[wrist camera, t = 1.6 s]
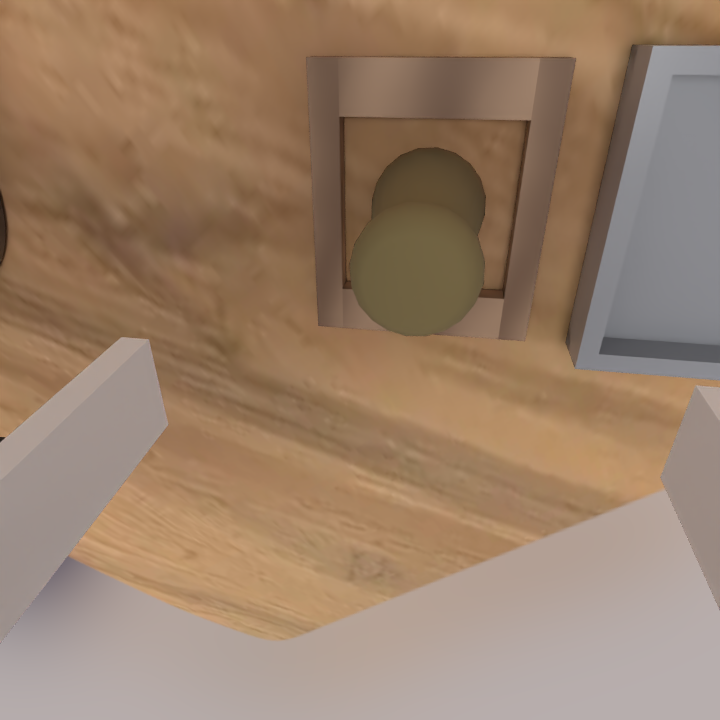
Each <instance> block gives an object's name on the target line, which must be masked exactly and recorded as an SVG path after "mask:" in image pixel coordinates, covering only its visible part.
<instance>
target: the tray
mask: <svg viewBox="0 0 720 720" xmlns="http://www.w3.org/2000/svg"><path fill="white" fill-rule="evenodd" d="M566 344H567V347H568V350H569V353H570V356H571V359H572V362H573V365H574V367H575V369H583V370H596V371H609V372H621V373H634V374H647V375H659V376H672V377H685V378H697V379H710V380H720V45H632V49H631V54H630V58H629V62H628V67H627V71H626V76H625V80H624V85H623V89H622V94H621V98H620V103H619V107H618V111H617V116H616V120H615V125H614V129H613V134H612V138H611V143H610V147H609V151H608V156H607V160H606V165H605V169H604V174H603V178H602V183H601V187H600V191H599V196H598V200H597V205H596V209H595V214H594V218H593V223H592V227H591V231H590V236H589V240H588V245H587V249H586V254H585V258H584V263H583V267H582V271H581V276H580V280H579V285H578V289H577V294H576V298H575V303H574V307H573V312H572V316H571V320H570V325H569V329H568V334H567V338H566Z"/></svg>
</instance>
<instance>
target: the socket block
mask: <svg viewBox="0 0 720 720" xmlns="http://www.w3.org/2000/svg"><path fill="white" fill-rule="evenodd" d="M306 62H307V84H308V106H309V128H310V150H311V172H312V194H313V217H314V239H315V261H316V283H317V305H318V326H325V327H339V328H352V329H366V330H380V331H388V330H386V329H385V328H383V327H382V326H380V325H379V324H377V323H375V322H374V321H372V320H371V319H370V318H369V316H368V315H367V314H366V313H365V312H364V311H363V309H362V308H361V307H360V306H359V304H358V302H357V299H356V297H355V294H354V292H353V290H352V286H351V281H346V235H345V167H344V117H385V118H435V119H486V120H528V122H527V129H526V135H525V142H524V149H523V156H522V163H521V169H520V176H519V183H518V190H517V196H516V203H515V210H514V217H513V224H512V230H511V237H510V244H509V251H508V257H507V264H506V271H505V278H504V285H503V290H489V289H481V291H480V293H479V296H478V298H477V301H476V303H475V304H474V306H473V307H472V308H471V310H470V311H469V312H468V313H467V314H466V315H465V317H464V318H463V319H462V320H461V321H460V322H458V323H457V324H455V325H453V326H452V327H450V328H449V329H447V330H445V331H443V332H439V333H435V334H434V335H448V336H462V337H475V338H489V339H503V340H516V341H525V339H526V334H527V328H528V323H529V317H530V311H531V306H532V300H533V295H534V289H535V284H536V278H537V273H538V267H539V262H540V256H541V250H542V245H543V239H544V234H545V228H546V223H547V217H548V212H549V206H550V201H551V195H552V189H553V184H554V178H555V173H556V167H557V162H558V156H559V151H560V145H561V140H562V134H563V128H564V123H565V117H566V112H567V106H568V101H569V95H570V90H571V84H572V79H573V73H574V67H575V62H576V58H571V57H350V56H311V57H306Z"/></svg>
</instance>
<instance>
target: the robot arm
mask: <svg viewBox="0 0 720 720" xmlns="http://www.w3.org/2000/svg"><path fill="white" fill-rule="evenodd" d="M4 247H5V219H4V213H3V208H2V204H1V199H0V263H1V260H2V257H3V252H4ZM167 426H168V421H167V417H166V412H165V408H164V404H163V399H162V395H161V390H160V386H159V382H158V377H157V373H156V369H155V364H154V360H153V356H152V351H151V347H150V342H149V339H138V338H126V337H121V338H120V339H119V340H117V341H116V342H115V343H114V344H113V345H112V346H111V347H109V348H108V349H107V350H106V351H105V352H104V353H102V354H101V355H100V356H99V357H98V358H97V359H96V360H94V361H93V362H92V363H91V364H90V365H89V366H88V367H86V368H85V369H84V370H83V371H82V372H81V373H79V374H78V375H77V376H76V377H75V378H74V379H73V380H71V381H70V382H69V383H68V384H67V385H66V386H65V387H63V388H62V389H61V390H60V391H59V392H58V393H56V394H55V395H54V396H53V397H52V398H51V399H50V400H48V401H47V402H46V403H45V404H44V405H43V406H42V407H40V408H39V409H38V410H37V411H36V412H35V413H33V414H32V415H31V416H30V417H29V418H28V419H27V420H25V421H24V422H23V423H22V424H21V425H20V426H19V427H17V428H16V429H15V430H14V431H13V432H12V433H10V434H9V435H8V436H7V437H6V438H5V437H0V643H1V642H2V641H3V640H4V638H5V637H6V636H7V634H8V633H9V632H10V630H11V629H12V628H13V626H14V625H15V624H16V623H17V621H18V620H19V619H20V617H21V616H22V615H23V613H24V612H25V611H26V610H27V608H28V607H29V606H30V604H31V603H32V602H33V600H34V599H35V598H36V597H37V595H38V594H39V593H40V591H41V590H42V589H43V587H44V586H45V585H46V583H47V582H48V581H49V580H50V578H51V577H52V576H53V574H54V573H55V572H56V570H57V569H58V568H59V566H60V565H61V564H62V563H63V561H64V560H65V559H66V557H67V556H68V555H69V554H70V552H71V551H72V550H73V548H74V547H75V546H76V544H77V543H78V542H79V540H80V539H81V538H82V537H83V535H84V534H85V533H86V531H87V530H88V529H89V527H90V526H91V525H92V524H93V522H94V521H95V520H96V518H97V517H98V516H99V514H100V513H101V512H102V510H103V509H104V508H105V507H106V505H107V504H108V503H109V501H110V500H111V499H112V497H113V496H114V495H115V494H116V492H117V491H118V490H119V488H120V487H121V486H122V484H123V483H124V482H125V480H126V479H127V478H128V477H129V475H130V474H131V473H132V471H133V470H134V469H135V467H136V466H137V465H138V464H139V462H140V461H141V460H142V458H143V457H144V456H145V454H146V453H147V452H148V451H149V449H150V448H151V447H152V445H153V444H154V443H155V441H156V440H157V439H158V437H159V436H160V435H161V434H162V432H163V431H164V430H165V428H166V427H167ZM660 478H661V480H662V482H663V485H664V487H665V489H666V491H667V493H668V496H669V498H670V500H671V502H672V504H673V507H674V509H675V511H676V514H677V516H678V518H679V520H680V523H681V525H682V527H683V529H684V531H685V534H686V536H687V538H688V540H689V542H690V545H691V547H692V549H693V552H694V554H695V556H696V558H697V560H698V563H699V565H700V567H701V569H702V572H703V574H704V576H705V578H706V581H707V583H708V585H709V587H710V589H711V591H712V594H713V596H714V598H715V601H716V603H717V605H718V607H719V610H720V387H708V386H695V388H694V391H693V394H692V396H691V399H690V401H689V404H688V407H687V409H686V412H685V415H684V417H683V420H682V422H681V425H680V428H679V430H678V433H677V435H676V438H675V441H674V443H673V446H672V449H671V451H670V454H669V456H668V459H667V462H666V464H665V467H664V469H663V472H662V475H661V477H660Z"/></svg>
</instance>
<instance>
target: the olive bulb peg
mask: <svg viewBox="0 0 720 720" xmlns="http://www.w3.org/2000/svg"><path fill="white" fill-rule="evenodd" d="M485 199H486V196H485V193H484V189H483V185H482V182H481V179H480V177H479V176H478V174H477V173H476V171H475V170H474V169H473V167H472V166H471V164H470V163H468V162H467V161H466V160H464V159H463V158H462V157H460V156H459V155H457V154H456V153H454V152H451V151H447V150H444V149H440V148H418V149H415V150H413V151H410V152H408V153H405V154H403V155H400V156H399V157H398V158H397V159H396V160H394V161H393V162H392V163H391V164H390V165H388V166H387V167H386V169H385V170H384V172H383V173H382V175H381V177H380V178H379V180H378V181H377V183H376V187H375V191H374V195H373V199H372V220H371V221H370V222H368V224H367V225H366V227H365V228H364V230H363V231H362V233H361V234H360V236H359V237H358V239H357V241H356V242H355V244H354V248H353V252H352V256H351V260H350V277H351V286H352V290H353V292H354V294H355V297H356V299H357V302H358V304H359V306H360V307H361V308H362V309H363V311H364V312H365V313H366V314H367V315H368V316H369V318H370V319H371V320H372V321H374V322H375V323H377V324H379V325H380V326H382V327H383V328H385V329H386V330H388V331H391V332H395V333H398V334H402V335H405V336H428V335H432V334H435V333H439V332H443V331H445V330H447V329H449V328H450V327H452V326H453V325H455V324H457V323H458V322H460V321H461V320H462V319H463V318H464V317H465V315H466V314H467V313H468V312H469V311H470V310H471V308H472V307H473V306H474V304H475V303H476V301H477V298H478V296H479V293H480V291H481V289H482V286H483V284H484V269H485V261H484V256H483V252H482V249H481V246H480V242H479V239H478V237H477V236H478V233H479V230H480V227H481V224H482V221H483V218H484V215H485Z"/></svg>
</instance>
